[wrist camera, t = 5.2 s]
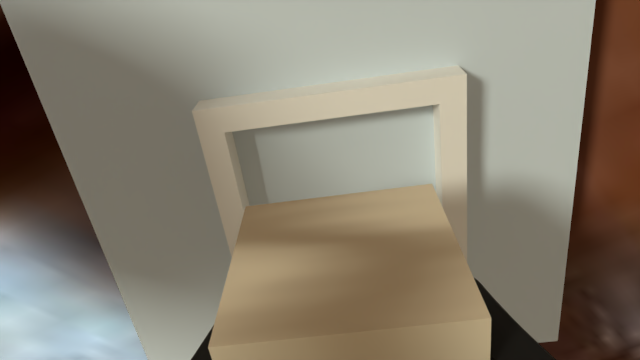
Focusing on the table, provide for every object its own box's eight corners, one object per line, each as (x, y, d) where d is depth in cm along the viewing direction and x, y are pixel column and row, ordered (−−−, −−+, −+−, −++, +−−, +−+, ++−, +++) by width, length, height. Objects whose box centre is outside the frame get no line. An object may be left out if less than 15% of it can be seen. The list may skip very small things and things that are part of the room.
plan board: (164, 359, 22) (150, 401, 20) (-11, -87, 14) (-64, -89, 12) (545, 320, 21) (568, 359, 19) (593, -187, 13) (641, -207, 11)
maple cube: (278, 342, 14) (261, 509, 10) (245, 206, 12) (207, 347, 8) (437, 325, 14) (486, 491, 10) (431, 183, 12) (491, 317, 8)
